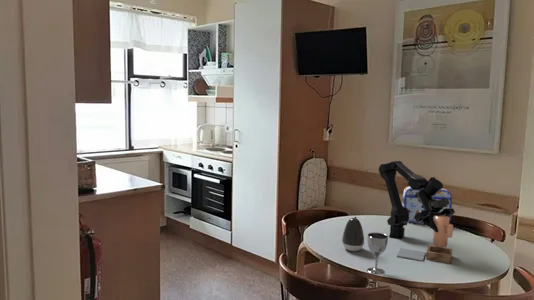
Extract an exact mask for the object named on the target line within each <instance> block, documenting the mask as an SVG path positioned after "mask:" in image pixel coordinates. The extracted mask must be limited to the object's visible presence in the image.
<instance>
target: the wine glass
mask: <svg viewBox="0 0 534 300" xmlns="http://www.w3.org/2000/svg"><path fill="white" fill-rule="evenodd" d="M388 240H389V235H387V234H385V233H382V232H369V233H367V246H368V249H369V251H370V252H371V254H372V255H373V256H374V260H375V261H374V262H375V265H374V267H373V266H372V267H368V268H367V269H366V270H367V271H366V272H368V273H369V274H373V275H383V274H385V273H386V271H385V270H384V268H381V267H378V262H379V261H378V260H379V258H380V256H381V255H382V254H384V252H385V251H386V249H387V246H388Z"/></svg>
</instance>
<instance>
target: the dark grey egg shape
mask: <svg viewBox="0 0 534 300" xmlns="http://www.w3.org/2000/svg"><path fill="white" fill-rule="evenodd" d="M341 243H342V245H343V247H344V249H346V250H347V251H349V252H358V251H360V250H362V248H363V247H364V245H365V234H364V229H363V226H362V223H361V221H360V220H359V219H358V218H357V216H355V217H351V218H350V219H348V221H347V222H346V224H345V227H344V229H343V234H342V237H341Z"/></svg>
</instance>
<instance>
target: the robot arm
mask: <svg viewBox="0 0 534 300" xmlns="http://www.w3.org/2000/svg"><path fill="white" fill-rule="evenodd" d="M378 173H379V175H380V178H382V179H383V180H384V181H385V184H386V188H387V193H388V196H389V200H390V204H391V210H390V216H389V218H388V219H387V221H386V222H387V225H388V226H390V227H389V235H388V238H395V239H398V240H399V239H400V240H402V239H403V238H404V237H405V233H406V232H405V231H406V229H405V227H404V226H407V225H408V223H409V222H408V220H409V213H408V209H407V207H405V208H404V207H403V202H402V199H401V196H400V193H399V190H398V186H397V182H396V176H397V173H398V174H399V175H400V176H401V177H402V178H404V179H405V180H406V181H407V185H408V187H411V189H413V190H420V191H419V192H416V195H415V198H419V199H420V201H421V203H422V206H421V207H422V208H424V209H425V210H420V211H419V212H418V213H417V214H416V215H415V220H416V222H418V221H421V222H422V223H425V224H424V225H426V226H427V227H428V228H430V229H431V230H433V232H434V231H435V232H438V229H437V226H436V224H435V222H434V220H433V217H434V216H435V215H446V216H449V217H451V218H452V216H453V215H454V214H456V211H455V210H454V207H452V208H445V209H444V210H443V211H441V212H440V210H442V209H443V208H442V207H447V205H449V200H448V199H447V198H443V199H442V200H434V198H433V197H432V196H434V195H436V194H437V193H438V192H439V191H440V190H441V189H444V188H443V187H444V185H443V183H442V182H441V181H440V180H439V179H436V177H434V176H433V177H431V176H430V178H429V179H428V180H427V178H425V176H422V175H420V174H417V173H414V171H412V170H411V169H410V168H408V167H407V166H406V165H405V164H404V163H403V162H402V161H401V160H393V161H391V162H387V163H381V164H380V165H379V167H378ZM422 219H423V220H422ZM422 223H421V224H422Z"/></svg>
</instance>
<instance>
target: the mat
mask: <svg viewBox="0 0 534 300" xmlns="http://www.w3.org/2000/svg"><path fill="white" fill-rule="evenodd" d="M426 252H427V251H420V250H415V249H409V248H403V247H401V248H400V249H399V251H398V253H397V255H396V257H397V258H401V259H407V260H414V261H418V262H423V261H424V260H425V257H426Z"/></svg>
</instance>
